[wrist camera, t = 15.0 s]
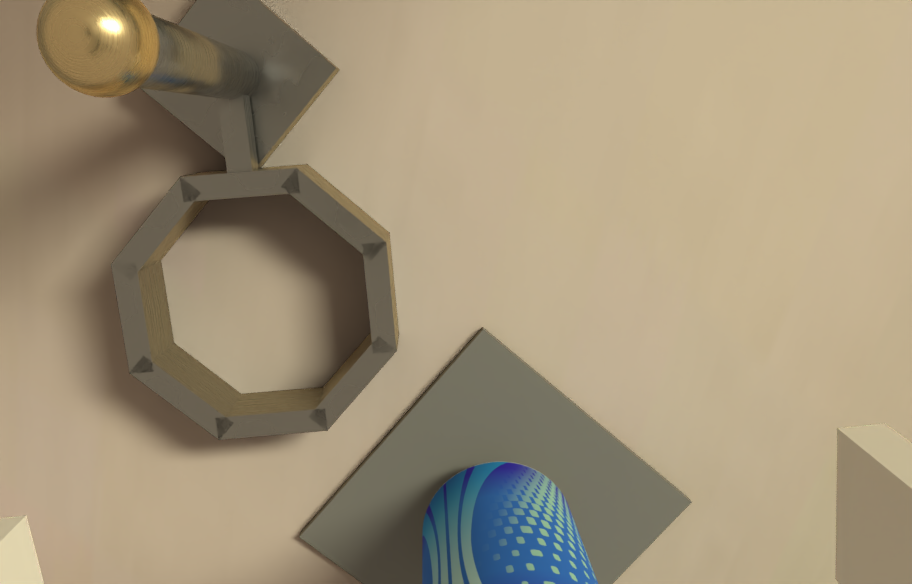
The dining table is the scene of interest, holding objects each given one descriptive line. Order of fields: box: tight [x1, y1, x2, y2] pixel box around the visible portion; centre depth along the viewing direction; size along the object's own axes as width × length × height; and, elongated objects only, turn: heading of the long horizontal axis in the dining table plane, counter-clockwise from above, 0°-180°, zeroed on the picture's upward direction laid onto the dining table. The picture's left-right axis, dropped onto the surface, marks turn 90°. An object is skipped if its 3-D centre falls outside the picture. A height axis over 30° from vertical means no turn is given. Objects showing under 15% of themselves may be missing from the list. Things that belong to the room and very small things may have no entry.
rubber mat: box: [299, 327, 691, 584], centre depth 45 cm, size 16×16×1 cm
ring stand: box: [37, 0, 399, 440], centre depth 32 cm, size 18×18×20 cm
